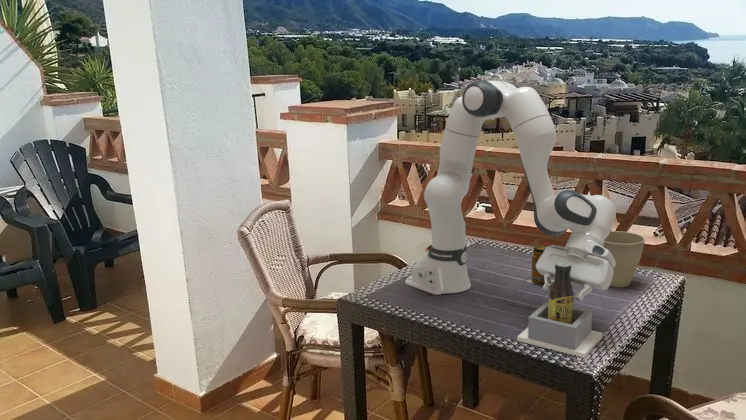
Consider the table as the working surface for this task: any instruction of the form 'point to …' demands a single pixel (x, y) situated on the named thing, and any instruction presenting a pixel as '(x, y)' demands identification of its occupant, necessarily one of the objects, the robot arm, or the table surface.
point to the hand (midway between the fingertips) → (561, 294)
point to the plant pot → (624, 255)
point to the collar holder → (561, 332)
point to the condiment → (536, 276)
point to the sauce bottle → (561, 295)
